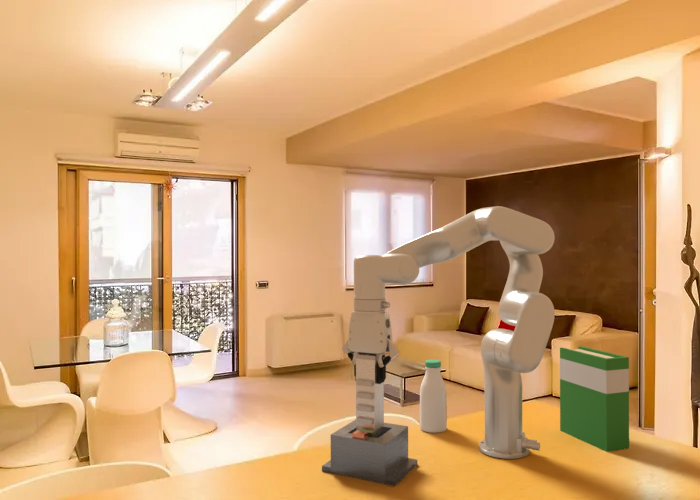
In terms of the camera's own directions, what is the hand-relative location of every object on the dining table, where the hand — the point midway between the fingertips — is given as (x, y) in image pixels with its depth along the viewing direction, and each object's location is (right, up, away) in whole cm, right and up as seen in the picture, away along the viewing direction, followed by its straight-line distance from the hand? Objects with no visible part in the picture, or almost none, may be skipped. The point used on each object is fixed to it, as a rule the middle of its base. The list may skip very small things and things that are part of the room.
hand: (369, 380), depth 133 cm
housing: (0, -21, 0) cm, 21 cm away
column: (0, -15, 0) cm, 15 cm away
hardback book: (+62, -21, +19) cm, 68 cm away
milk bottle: (+19, -21, +28) cm, 40 cm away
